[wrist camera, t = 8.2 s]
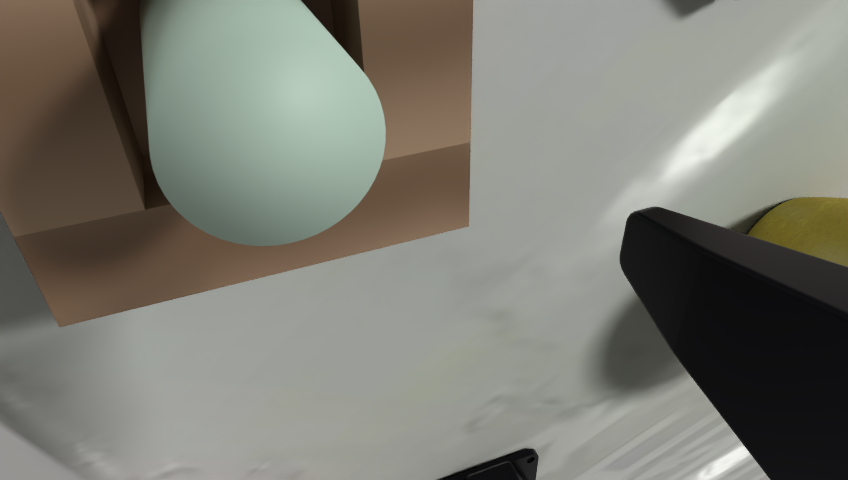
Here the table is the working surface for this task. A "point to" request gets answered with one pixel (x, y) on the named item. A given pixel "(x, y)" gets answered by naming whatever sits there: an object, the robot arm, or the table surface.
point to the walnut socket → (132, 170)
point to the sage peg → (256, 118)
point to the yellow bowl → (808, 227)
